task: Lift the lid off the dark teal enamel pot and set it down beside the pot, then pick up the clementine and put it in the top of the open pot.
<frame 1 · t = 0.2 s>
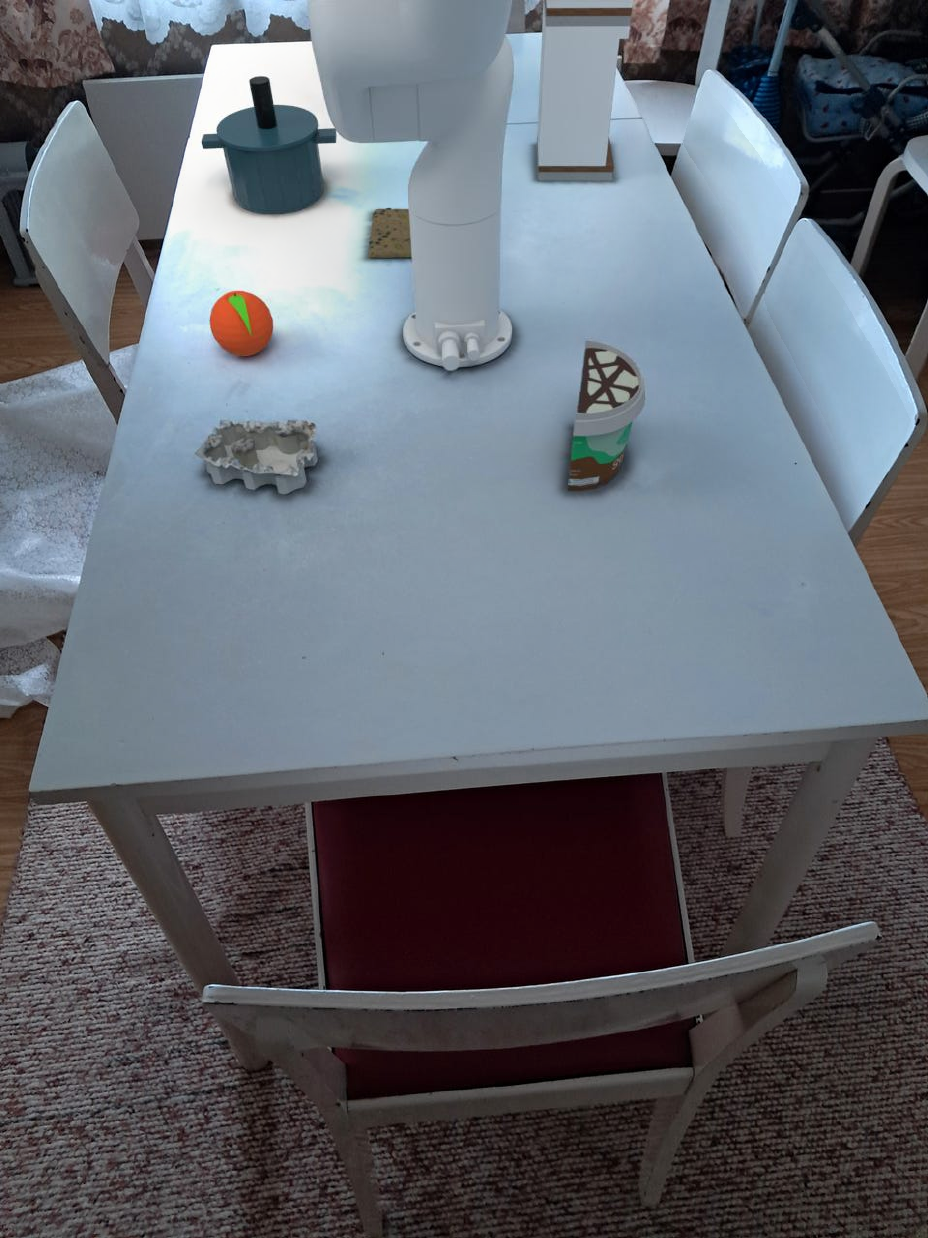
striped white pillar: (573, 164, 128), on the table
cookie: (415, 235, 116), on the table
clementine: (249, 354, 100), on the table
food container: (602, 463, 87), on the table
egg carton: (263, 469, 87), on the table
pot lid: (268, 128, 117), point 8 cm above the table, touching pot
pot: (279, 192, 124), on the table
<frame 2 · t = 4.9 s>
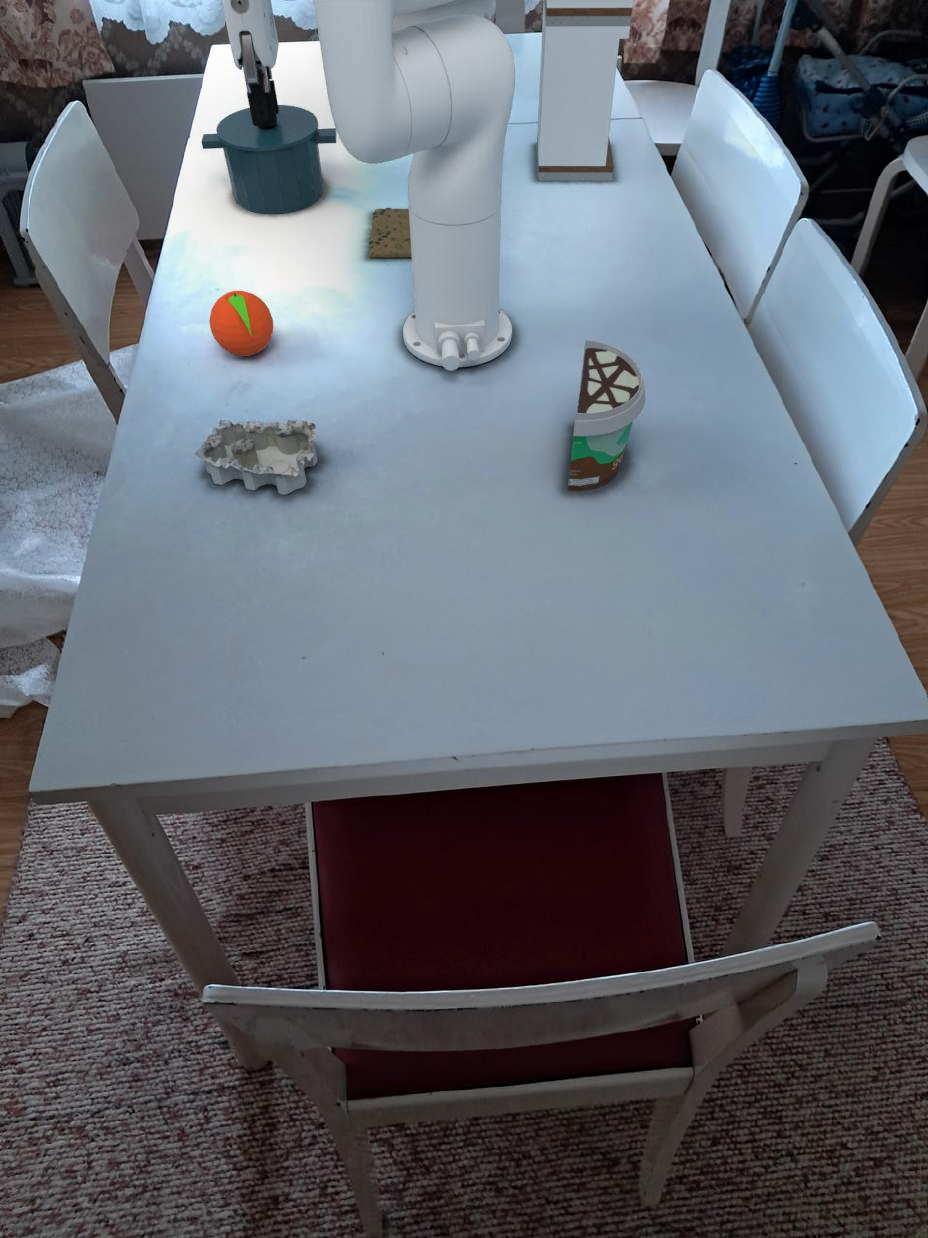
hand: (266, 117, 116), 10 cm above the table, tool pointing down, fingers closed on pot lid, 2 cm apart
pot lid: (268, 128, 117), point 9 cm above the table, touching gripper, pot
everything else where it was.
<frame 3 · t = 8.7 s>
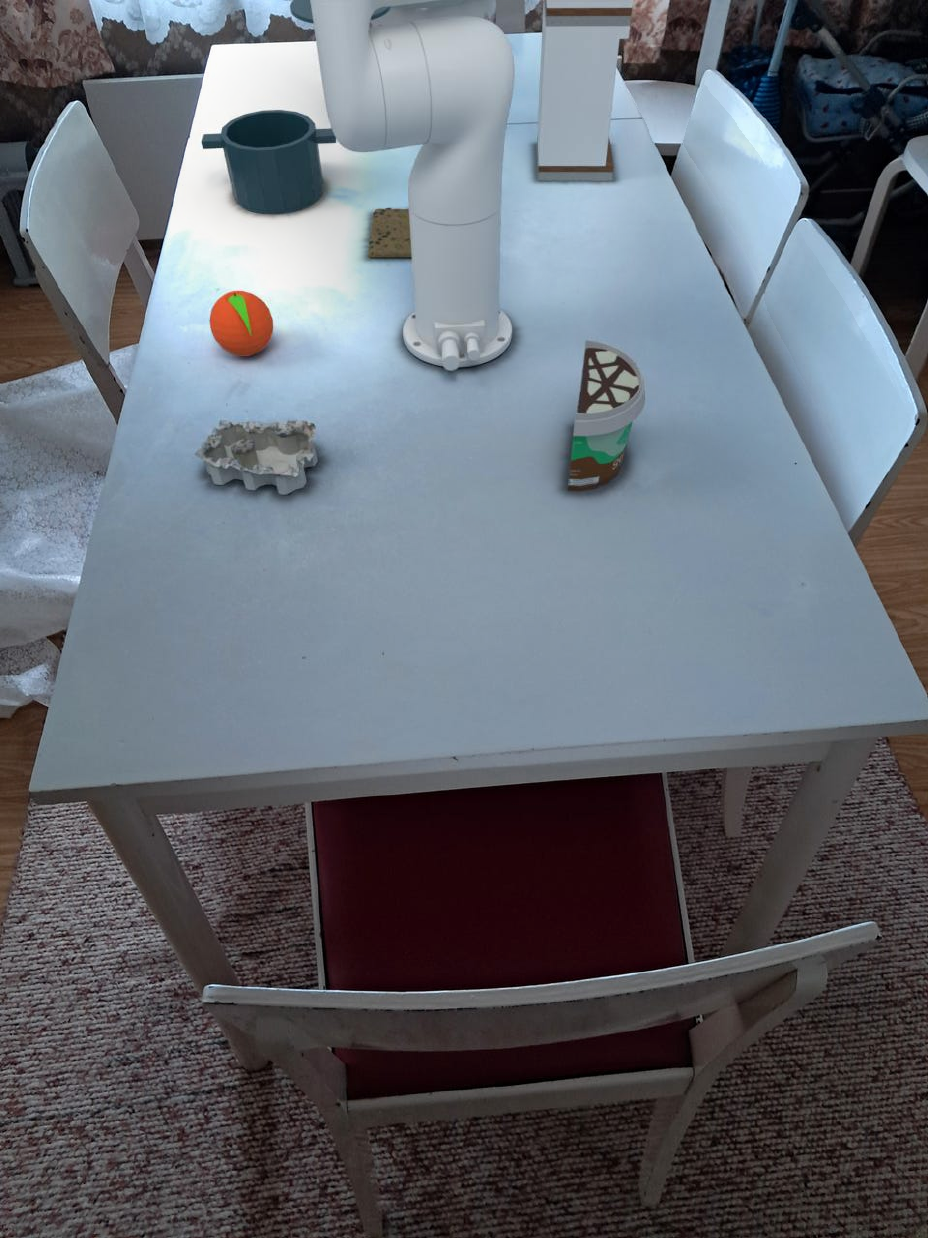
pot lid: (341, 7, 117), point 19 cm above the table, touching gripper
everything else where it was.
when the fingers open (2 cm above the table, at t = 12.8 s): pot lid stays where it is, point 1 cm above the table.
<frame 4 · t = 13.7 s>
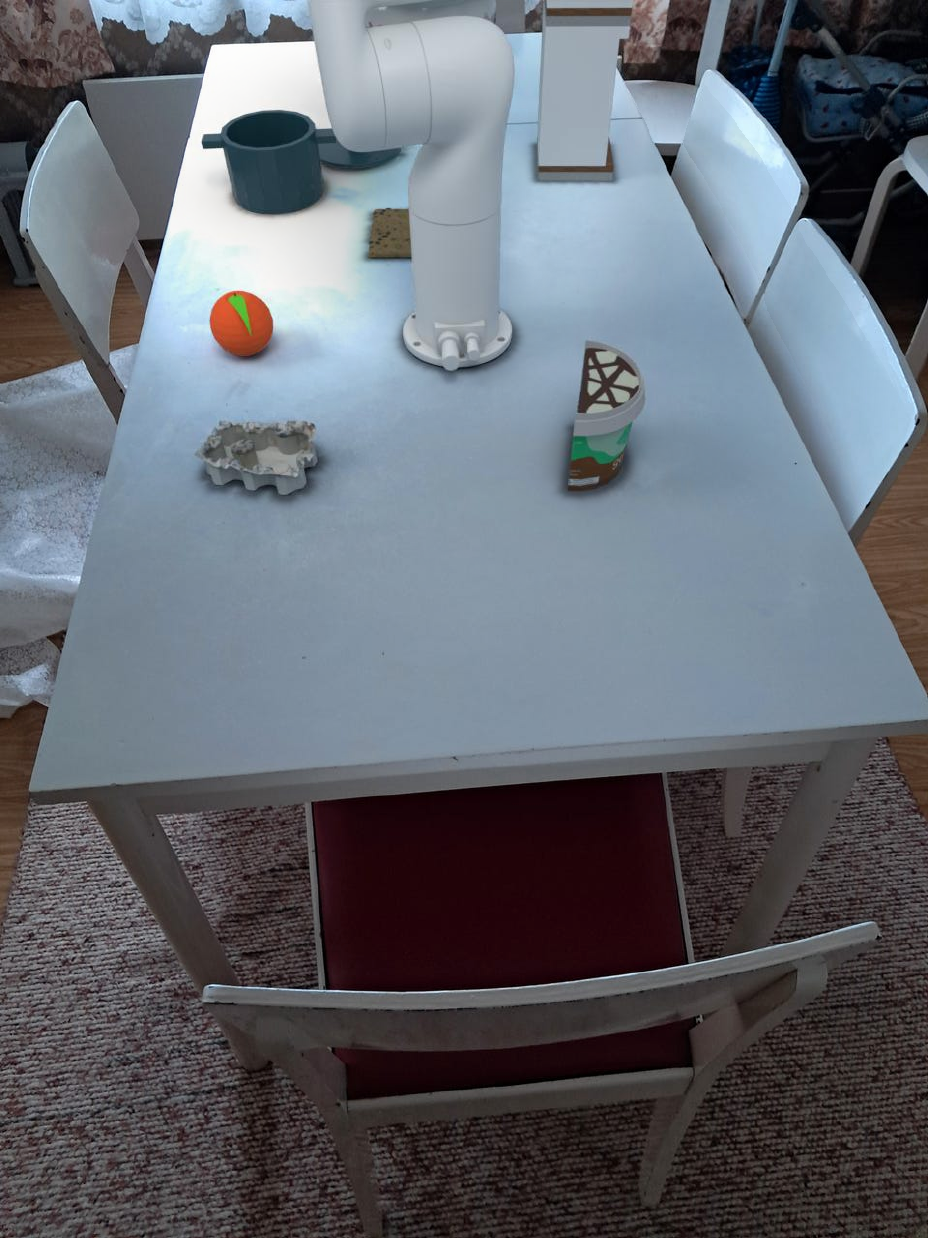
hand: (354, 128, 129), 3 cm above the table, tool pointing down, fingers open, 9 cm apart
pot lid: (356, 147, 131), point 1 cm above the table
everything else where it was.
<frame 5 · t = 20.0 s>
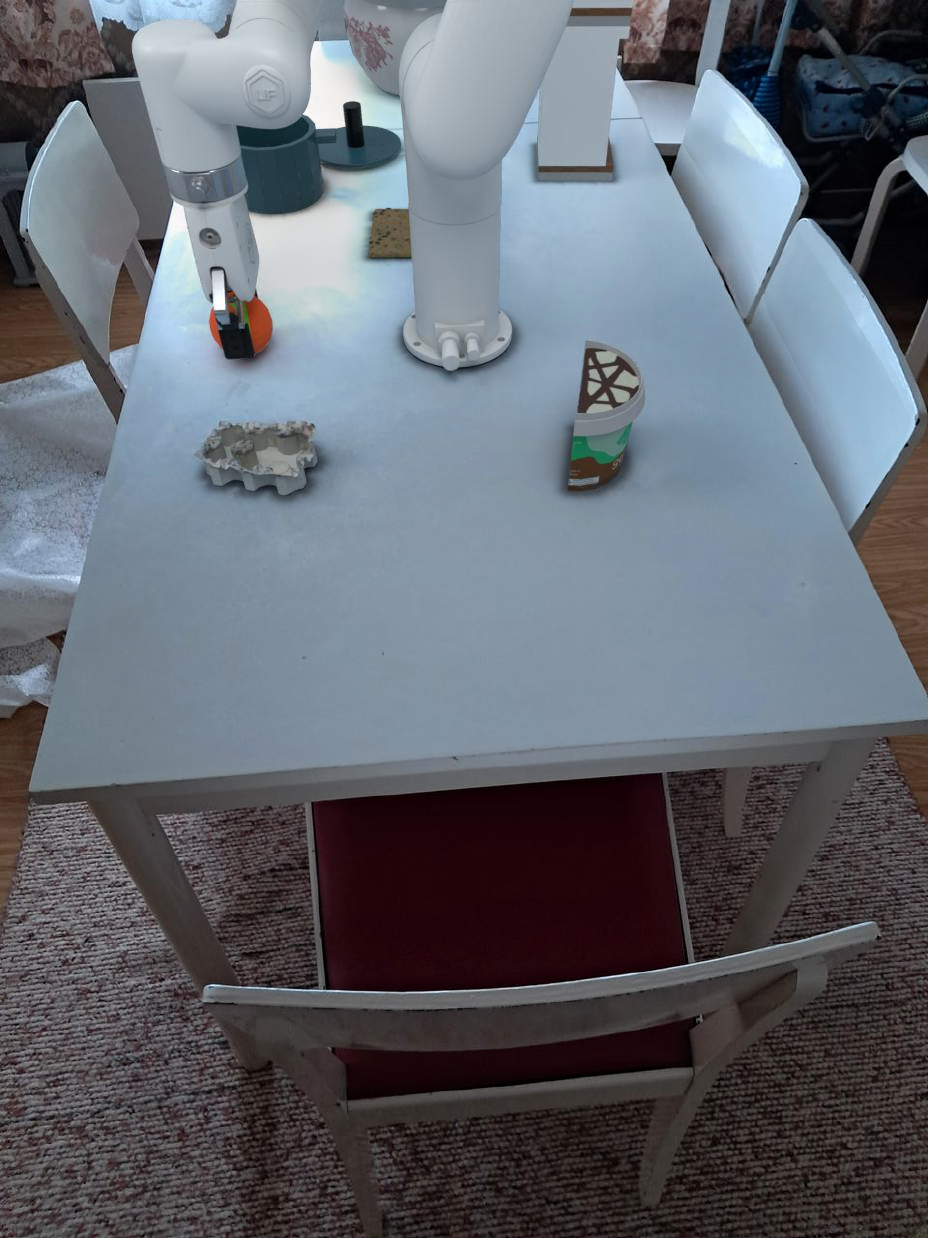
hand: (243, 334, 97), 2 cm above the table, tool pointing down, fingers closed on clementine, 7 cm apart
clementine: (249, 355, 99), on the table, touching gripper
everything else where it was.
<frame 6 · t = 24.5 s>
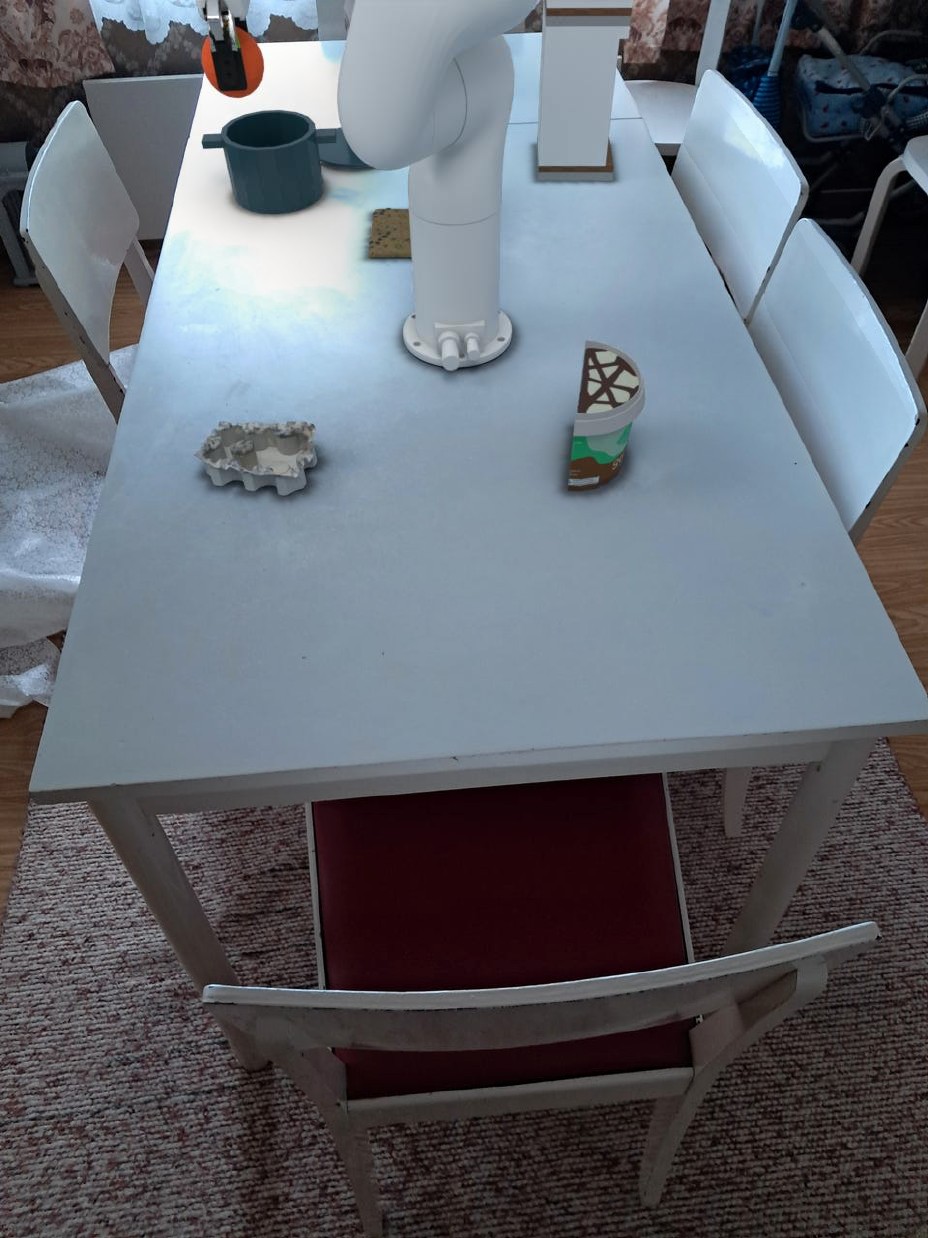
hand: (236, 73, 99), 20 cm above the table, tool pointing down, fingers closed on clementine, 7 cm apart
clementine: (241, 99, 101), point 17 cm above the table, touching gripper
everything else where it was.
when the fingers open (8 cm above the table, at t = 29.2 s): clementine drops 5 cm, resting on pot.
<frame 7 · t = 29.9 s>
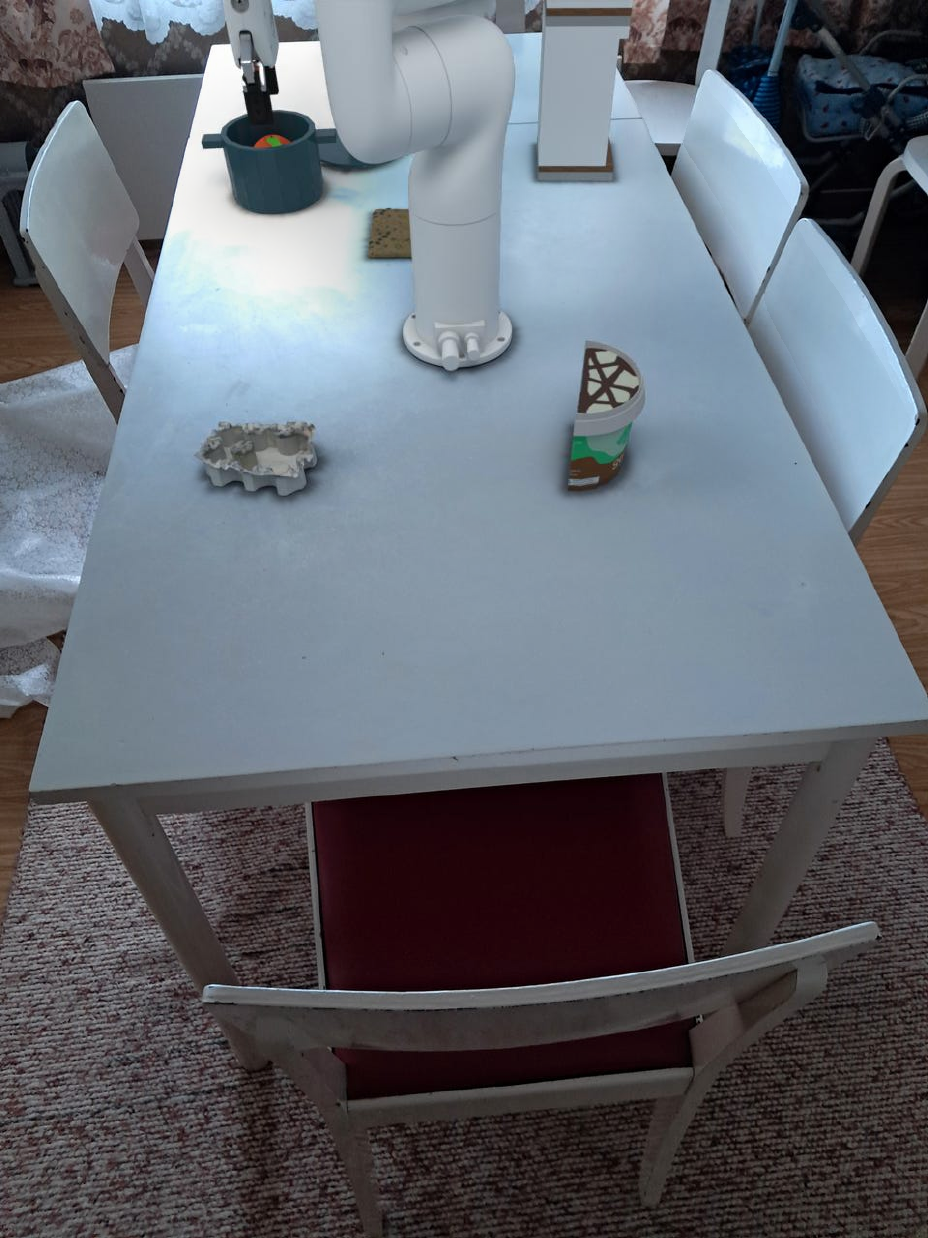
hand: (264, 108, 115), 11 cm above the table, tool pointing down, fingers open, 9 cm apart
clementine: (281, 191, 123), resting on pot
everything else where it was.
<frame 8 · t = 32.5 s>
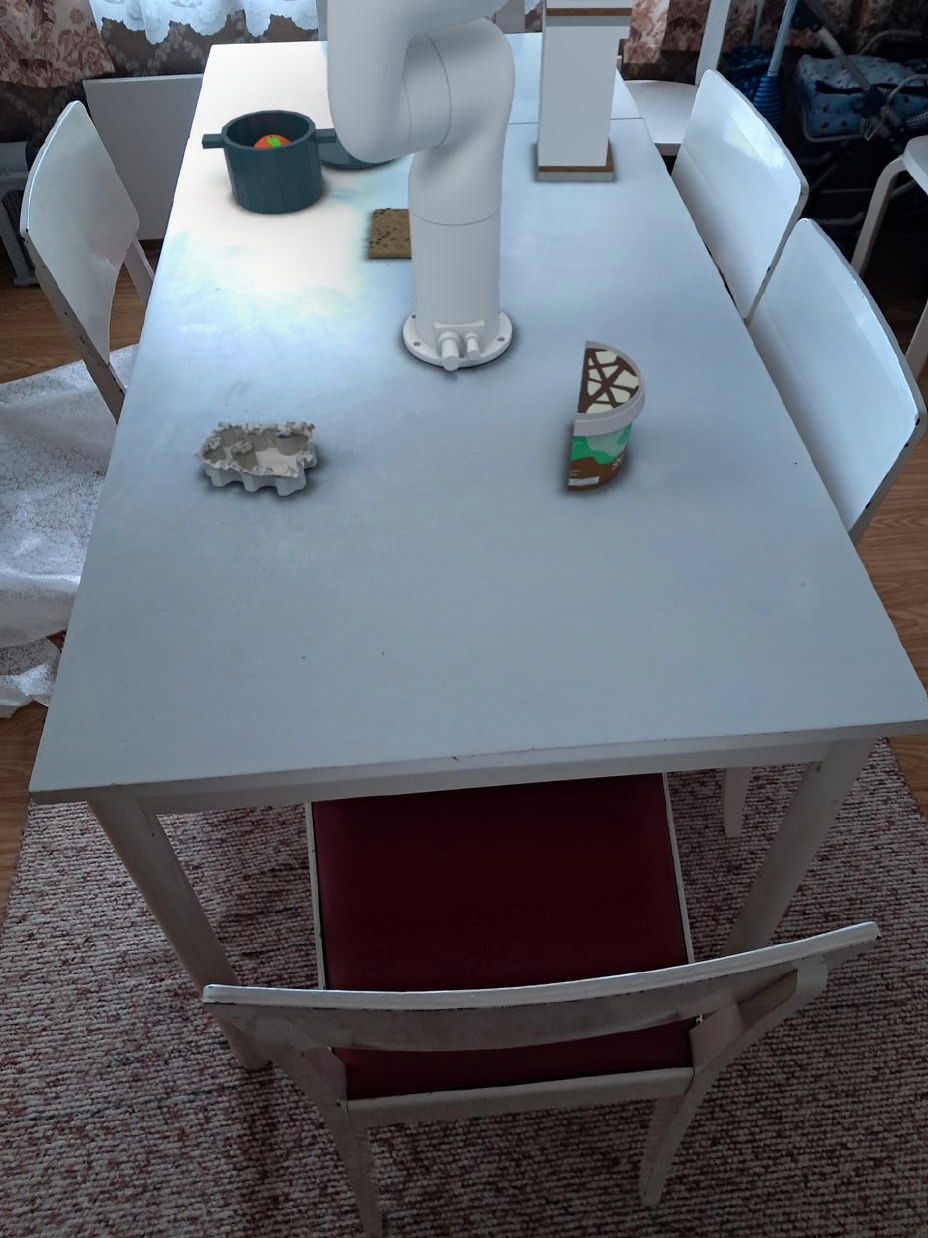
nothing on the table moved.
at the end: pot lid inside the target area on the table beside the pot (0.0 cm from its centre), point 0.6 cm above the table; clementine inside the target area in the pot (0.6 cm from its centre), point 0.3 cm above the pot's base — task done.
